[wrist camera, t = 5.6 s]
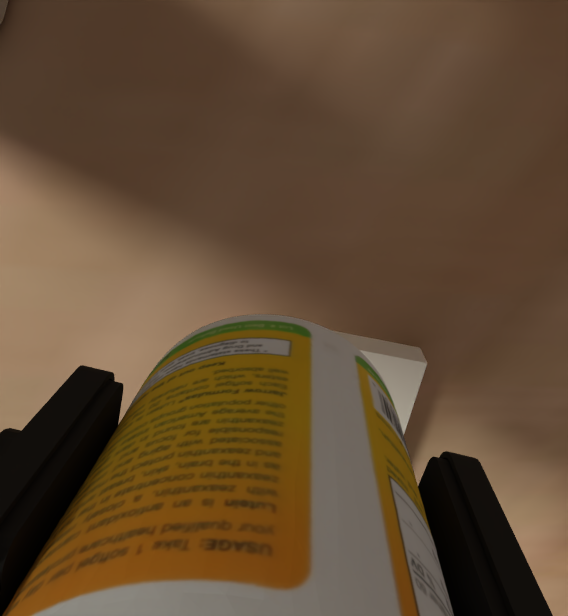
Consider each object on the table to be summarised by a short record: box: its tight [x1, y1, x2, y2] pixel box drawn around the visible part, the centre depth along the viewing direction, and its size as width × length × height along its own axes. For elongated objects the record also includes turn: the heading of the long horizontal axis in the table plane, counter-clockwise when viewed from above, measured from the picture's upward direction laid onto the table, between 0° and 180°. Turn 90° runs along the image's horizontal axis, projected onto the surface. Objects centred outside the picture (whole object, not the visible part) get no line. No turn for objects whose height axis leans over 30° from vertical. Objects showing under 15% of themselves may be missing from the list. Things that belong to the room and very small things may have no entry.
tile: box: [331, 330, 427, 435], centre depth 25 cm, size 7×7×2 cm
